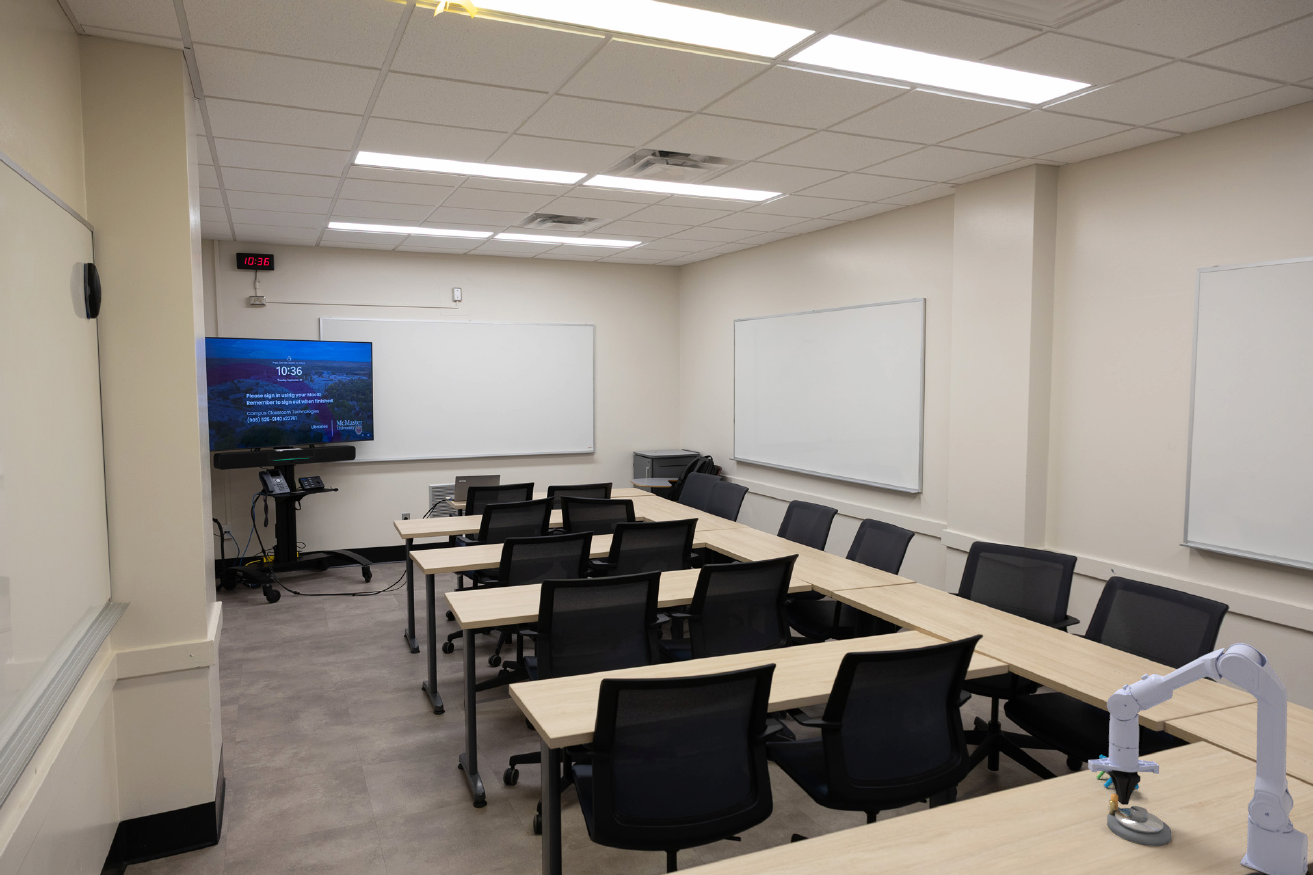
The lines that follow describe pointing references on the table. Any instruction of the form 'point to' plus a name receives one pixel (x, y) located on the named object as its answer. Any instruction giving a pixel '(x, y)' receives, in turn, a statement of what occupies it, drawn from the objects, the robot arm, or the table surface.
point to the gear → (1108, 774)
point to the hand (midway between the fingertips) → (1122, 802)
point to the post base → (1136, 836)
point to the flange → (1137, 818)
